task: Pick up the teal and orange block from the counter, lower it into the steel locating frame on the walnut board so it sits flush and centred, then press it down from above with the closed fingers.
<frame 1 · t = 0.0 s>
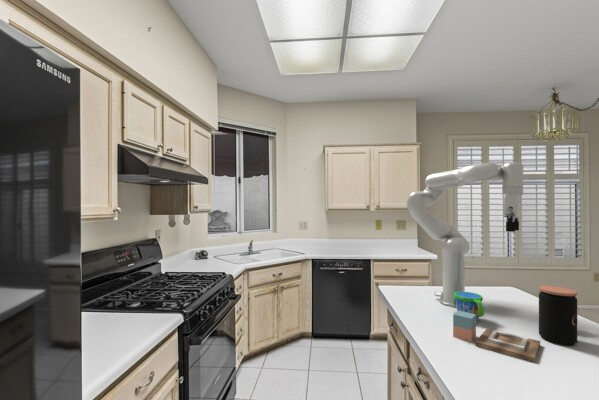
hand: (512, 230, 136), 37 cm above the countertop, tool pointing down, fingers open, 9 cm apart
teal and orange block: (464, 336, 114), on the countertop
coffee jar: (557, 340, 111), on the countertop
walnut board: (508, 345, 106), on the countertop
snack cup: (467, 319, 131), on the countertop
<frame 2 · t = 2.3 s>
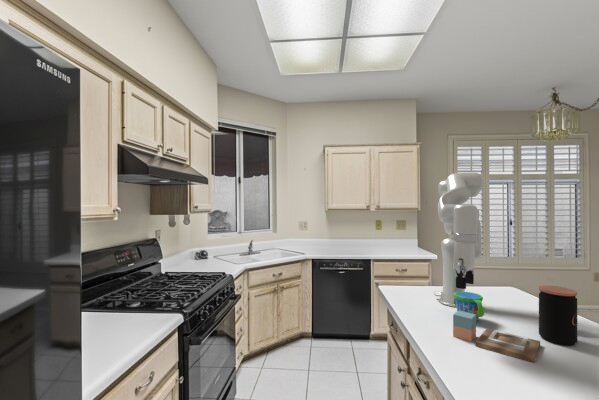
hand: (464, 285, 114), 18 cm above the countertop, tool pointing down, fingers open, 9 cm apart
nothing on the countertop moved.
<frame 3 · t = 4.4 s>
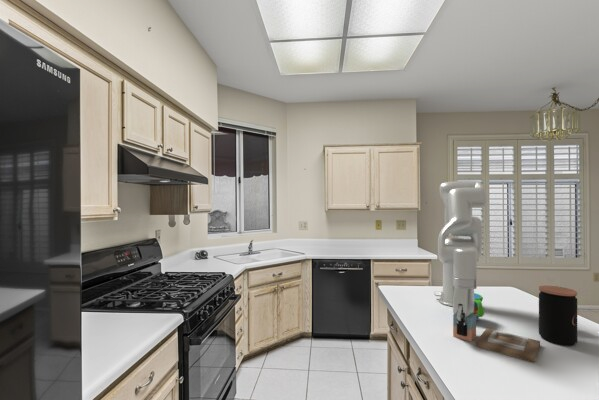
hand: (464, 331, 114), 2 cm above the countertop, tool pointing down, fingers closed on teal and orange block, 6 cm apart
teal and orange block: (464, 336, 114), on the countertop, touching gripper
everything else where it was.
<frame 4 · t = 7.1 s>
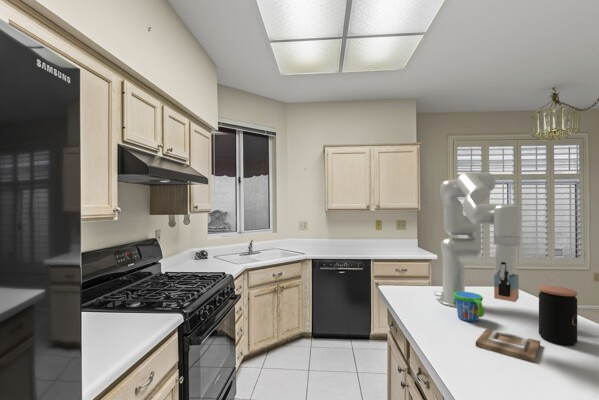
hand: (506, 293, 107), 18 cm above the countertop, tool pointing down, fingers closed on teal and orange block, 6 cm apart
teal and orange block: (506, 298, 107), point 16 cm above the countertop, touching gripper
everything else where it was.
when the fingers open (4 cm above the countertop, at t = 10.1 s): teal and orange block drops 1 cm, resting on walnut board.
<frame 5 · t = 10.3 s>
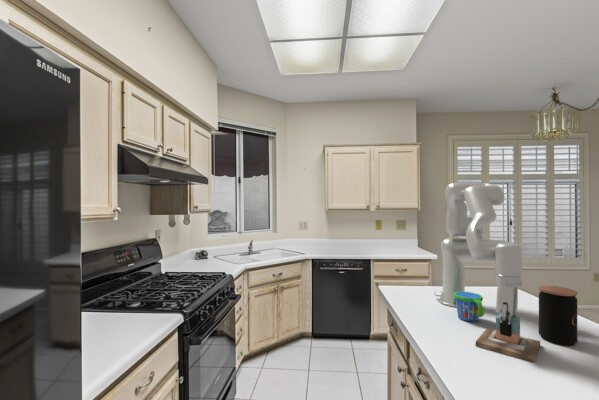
hand: (508, 331, 106), 5 cm above the countertop, tool pointing down, fingers open, 7 cm apart
teal and orange block: (507, 341, 107), point 1 cm above the countertop, touching walnut board
everything else where it was.
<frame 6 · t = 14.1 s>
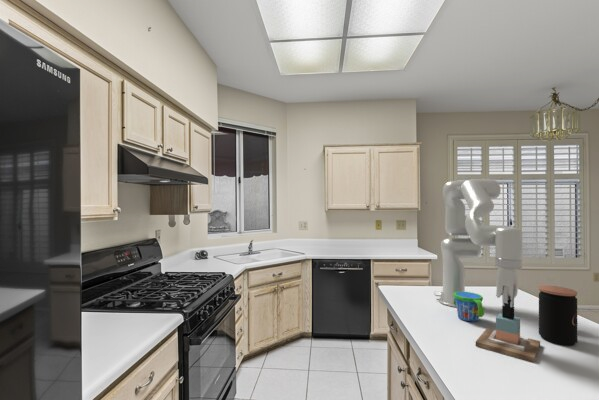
hand: (508, 317, 106), 10 cm above the countertop, tool pointing down, fingers closed
teal and orange block: (507, 341, 107), point 1 cm above the countertop, touching gripper, walnut board
everything else where it was.
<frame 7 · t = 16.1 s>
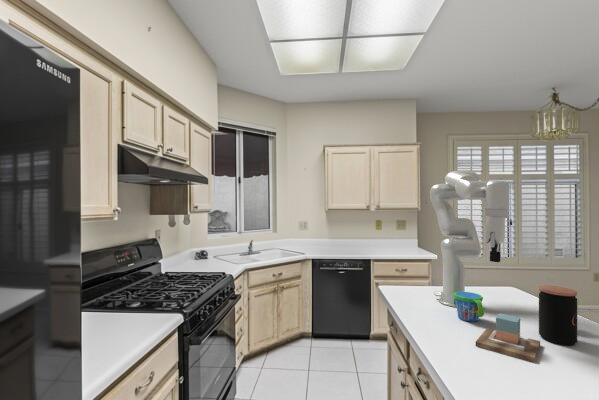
hand: (495, 261, 120), 26 cm above the countertop, tool pointing down, fingers closed
teal and orange block: (507, 341, 107), point 1 cm above the countertop, touching walnut board
everything else where it was.
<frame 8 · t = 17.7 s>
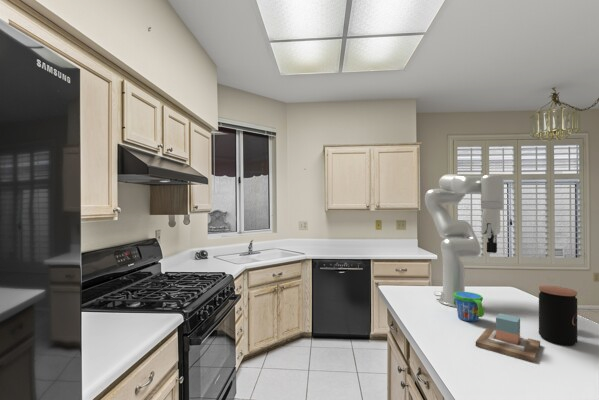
hand: (491, 252, 124), 29 cm above the countertop, tool pointing down, fingers closed
nothing on the countertop moved.
at the end: teal and orange block 0.1 cm off-centre on the walnut board, point 1.5 cm above the walnut board's base; teal and orange block tilted 0°; the gripper is holding nothing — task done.
